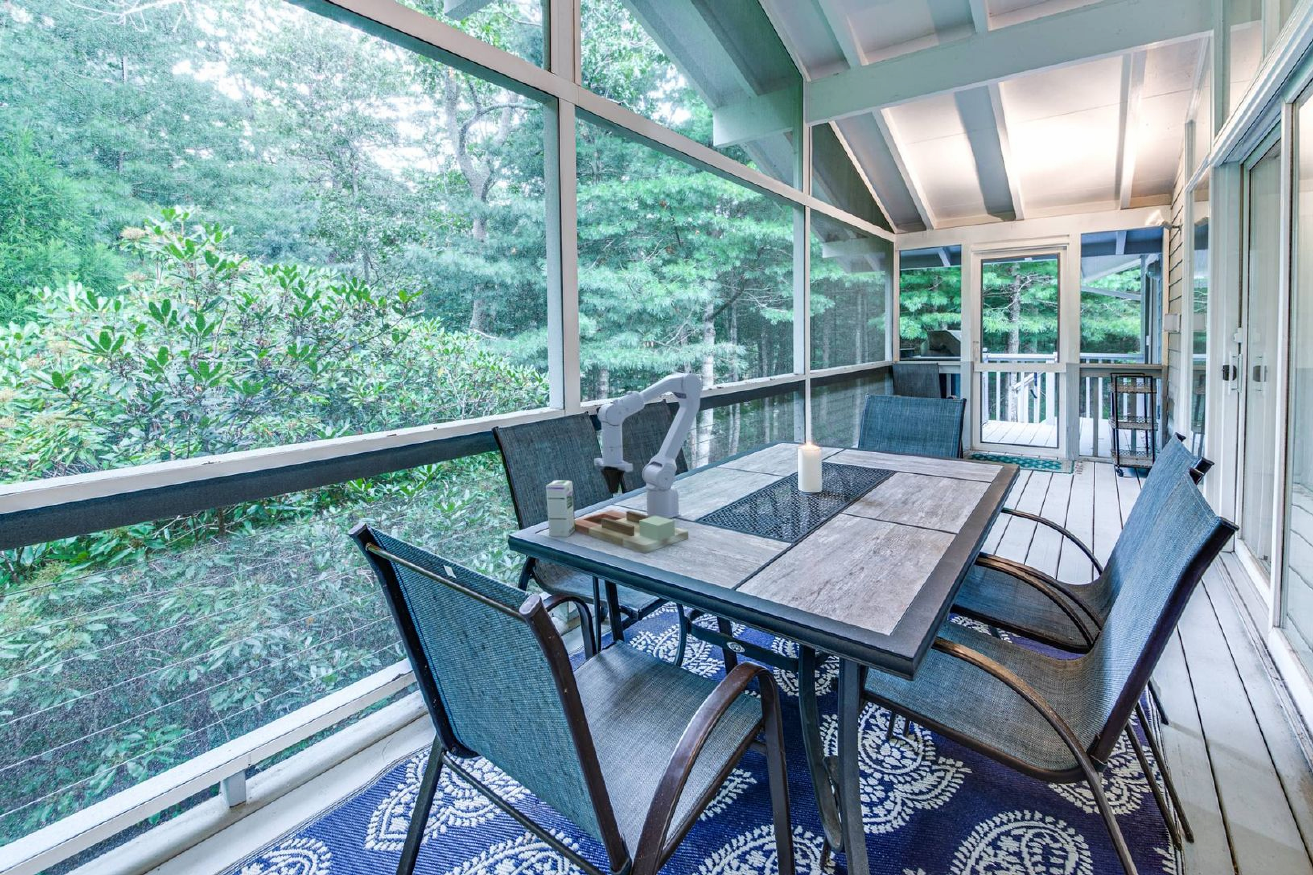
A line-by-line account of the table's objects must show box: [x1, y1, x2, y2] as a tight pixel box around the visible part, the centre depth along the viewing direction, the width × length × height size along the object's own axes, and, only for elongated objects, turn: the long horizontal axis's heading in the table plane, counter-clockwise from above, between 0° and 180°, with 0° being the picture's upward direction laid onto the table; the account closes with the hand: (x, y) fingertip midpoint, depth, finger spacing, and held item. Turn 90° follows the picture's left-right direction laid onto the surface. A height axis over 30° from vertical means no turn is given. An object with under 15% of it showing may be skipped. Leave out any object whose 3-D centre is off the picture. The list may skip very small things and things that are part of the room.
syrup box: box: [545, 479, 576, 537], centre depth 172 cm, size 6×6×14 cm
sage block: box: [639, 516, 676, 541], centre depth 163 cm, size 6×7×4 cm
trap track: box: [574, 509, 689, 554], centre depth 172 cm, size 16×31×4 cm, turn 44°
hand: (613, 492), depth 178 cm, fingers closed
